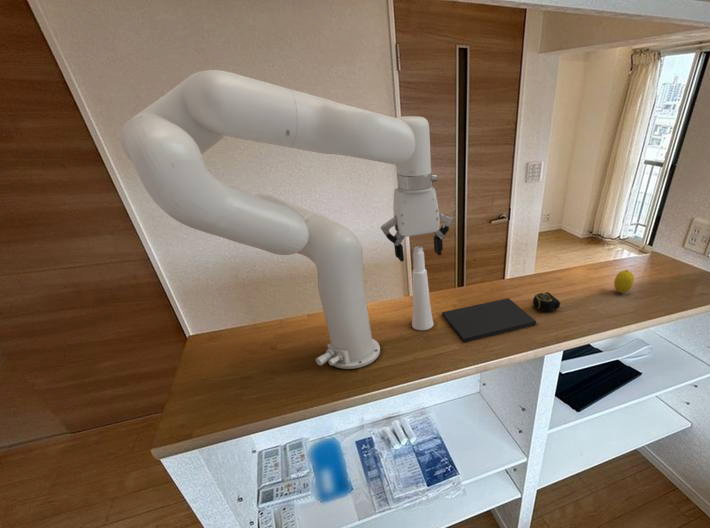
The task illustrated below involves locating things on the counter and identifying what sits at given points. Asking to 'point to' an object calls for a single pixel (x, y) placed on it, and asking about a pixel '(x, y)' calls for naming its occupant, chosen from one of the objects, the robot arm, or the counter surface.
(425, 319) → the cosmetic bottle
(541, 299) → the tape measure
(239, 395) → the counter surface
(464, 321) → the mat
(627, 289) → the lemon
